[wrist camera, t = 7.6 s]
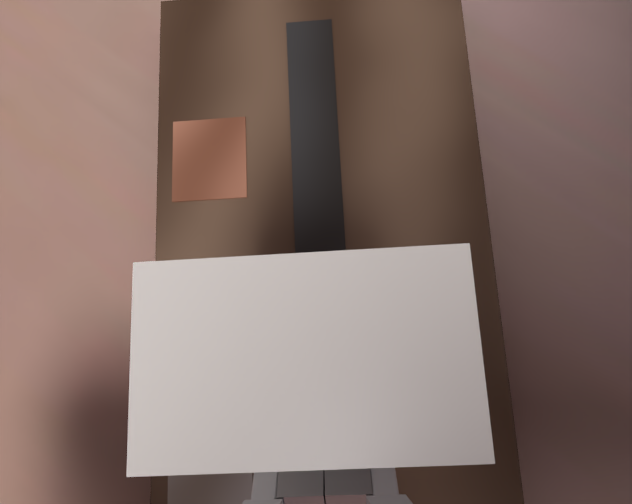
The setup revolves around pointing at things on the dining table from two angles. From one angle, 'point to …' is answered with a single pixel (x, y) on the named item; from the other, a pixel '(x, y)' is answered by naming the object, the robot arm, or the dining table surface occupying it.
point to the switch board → (328, 170)
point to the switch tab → (307, 363)
